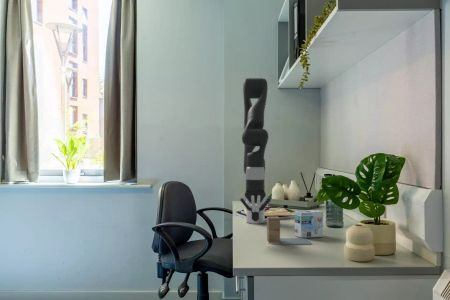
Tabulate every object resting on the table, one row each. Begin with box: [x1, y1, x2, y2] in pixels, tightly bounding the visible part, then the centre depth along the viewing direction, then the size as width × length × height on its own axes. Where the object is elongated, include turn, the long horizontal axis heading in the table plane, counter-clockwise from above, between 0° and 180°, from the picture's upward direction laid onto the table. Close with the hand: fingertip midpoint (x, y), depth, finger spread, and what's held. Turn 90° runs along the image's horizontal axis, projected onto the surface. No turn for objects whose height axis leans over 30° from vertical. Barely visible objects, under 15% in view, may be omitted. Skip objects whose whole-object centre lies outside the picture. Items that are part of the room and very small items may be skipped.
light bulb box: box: [294, 209, 324, 239], centre depth 173 cm, size 11×7×11 cm, turn 105°
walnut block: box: [266, 216, 281, 244], centre depth 163 cm, size 4×4×10 cm
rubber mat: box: [279, 237, 313, 246], centre depth 164 cm, size 10×12×1 cm
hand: (255, 220), depth 163 cm, fingers closed
